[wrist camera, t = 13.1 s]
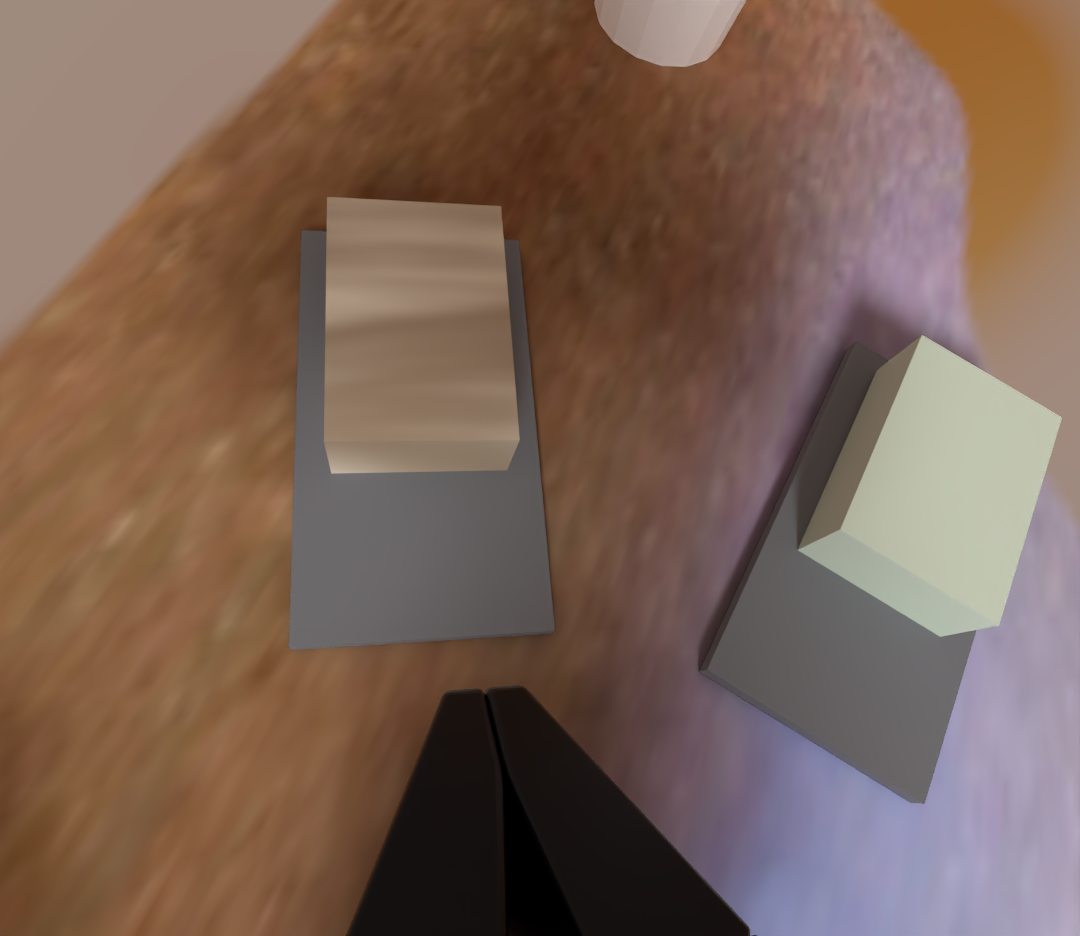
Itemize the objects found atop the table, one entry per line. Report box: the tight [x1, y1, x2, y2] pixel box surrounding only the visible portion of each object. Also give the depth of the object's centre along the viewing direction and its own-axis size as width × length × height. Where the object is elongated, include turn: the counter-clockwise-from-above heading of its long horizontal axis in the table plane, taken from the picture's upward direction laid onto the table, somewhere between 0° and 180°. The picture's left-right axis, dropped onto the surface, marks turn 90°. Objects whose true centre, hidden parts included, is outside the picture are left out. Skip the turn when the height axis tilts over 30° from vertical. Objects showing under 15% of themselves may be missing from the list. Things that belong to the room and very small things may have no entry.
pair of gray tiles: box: [289, 230, 976, 804], centre depth 23 cm, size 25×18×1 cm
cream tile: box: [324, 197, 520, 474], centre depth 22 cm, size 2×5×8 cm
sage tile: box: [798, 335, 1062, 637], centre depth 23 cm, size 2×5×8 cm
